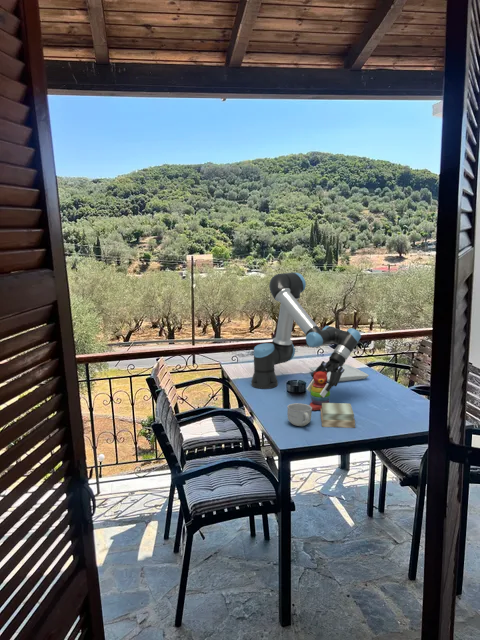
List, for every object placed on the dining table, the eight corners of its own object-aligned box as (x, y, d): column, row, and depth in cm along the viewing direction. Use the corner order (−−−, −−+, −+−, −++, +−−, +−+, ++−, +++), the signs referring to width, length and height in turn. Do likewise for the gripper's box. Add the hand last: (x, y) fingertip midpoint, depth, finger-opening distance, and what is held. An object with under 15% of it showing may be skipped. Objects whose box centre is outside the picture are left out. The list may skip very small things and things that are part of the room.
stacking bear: (308, 410, 205) (309, 374, 202) (309, 402, 214) (309, 368, 211) (331, 411, 203) (332, 375, 200) (331, 403, 213) (331, 369, 210)
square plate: (369, 381, 250) (370, 374, 249) (326, 385, 244) (326, 379, 243) (347, 368, 276) (347, 363, 275) (308, 372, 270) (308, 366, 269)
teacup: (285, 419, 195) (285, 402, 194) (308, 418, 196) (308, 401, 195) (291, 432, 182) (291, 414, 180) (316, 430, 183) (316, 413, 181)
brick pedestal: (322, 426, 186) (322, 413, 185) (320, 414, 200) (320, 402, 199) (354, 427, 184) (355, 414, 183) (351, 415, 198) (351, 403, 197)
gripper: (359, 365, 204) (334, 403, 199) (328, 356, 222) (304, 391, 217) (352, 356, 201) (326, 395, 195) (320, 347, 219) (296, 383, 213)
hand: (314, 393), depth 206 cm, fingers closed on stacking bear, 9 cm apart
